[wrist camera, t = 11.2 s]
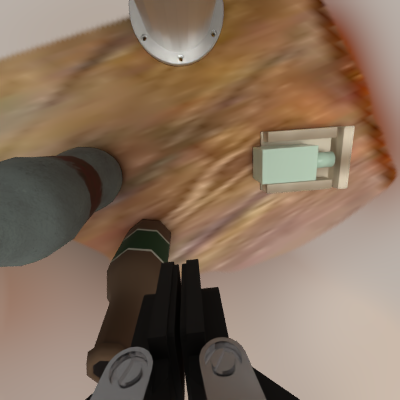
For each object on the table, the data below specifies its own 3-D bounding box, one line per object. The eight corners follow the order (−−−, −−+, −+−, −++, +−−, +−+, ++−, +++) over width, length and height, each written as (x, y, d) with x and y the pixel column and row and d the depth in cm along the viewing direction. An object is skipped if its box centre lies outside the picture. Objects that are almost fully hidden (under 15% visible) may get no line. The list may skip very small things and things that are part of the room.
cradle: (260, 131, 37) (267, 132, 34) (340, 126, 37) (354, 125, 34) (260, 189, 40) (266, 194, 37) (334, 183, 40) (347, 188, 37)
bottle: (262, 149, 32) (342, 143, 33) (252, 147, 37) (322, 141, 38) (262, 184, 34) (338, 178, 34) (253, 177, 39) (320, 172, 39)
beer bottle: (139, 209, 40) (76, 319, 17) (180, 229, 41) (172, 354, 18) (121, 245, 41) (40, 389, 19) (160, 263, 43) (130, 416, 20)
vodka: (138, 175, 38) (-10, 315, 9) (101, 212, 39) (-123, 431, 11) (92, 132, 36) (-292, 142, 7) (55, 173, 37) (-388, 320, 8)
